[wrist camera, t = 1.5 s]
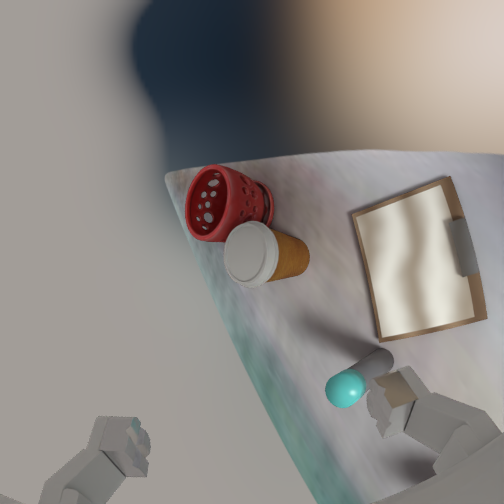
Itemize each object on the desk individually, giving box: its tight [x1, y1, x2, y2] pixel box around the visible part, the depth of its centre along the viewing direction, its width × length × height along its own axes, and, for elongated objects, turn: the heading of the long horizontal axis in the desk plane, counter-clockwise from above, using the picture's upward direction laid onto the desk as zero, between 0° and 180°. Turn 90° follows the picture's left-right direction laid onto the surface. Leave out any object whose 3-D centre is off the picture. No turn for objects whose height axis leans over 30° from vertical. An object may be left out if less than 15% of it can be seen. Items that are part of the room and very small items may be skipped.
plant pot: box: [185, 164, 274, 242], centre depth 54 cm, size 13×13×12 cm
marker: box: [325, 349, 394, 408], centre depth 34 cm, size 4×4×13 cm
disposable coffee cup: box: [224, 221, 310, 288], centre depth 47 cm, size 10×10×12 cm
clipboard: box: [352, 176, 488, 343], centre depth 35 cm, size 16×19×2 cm
